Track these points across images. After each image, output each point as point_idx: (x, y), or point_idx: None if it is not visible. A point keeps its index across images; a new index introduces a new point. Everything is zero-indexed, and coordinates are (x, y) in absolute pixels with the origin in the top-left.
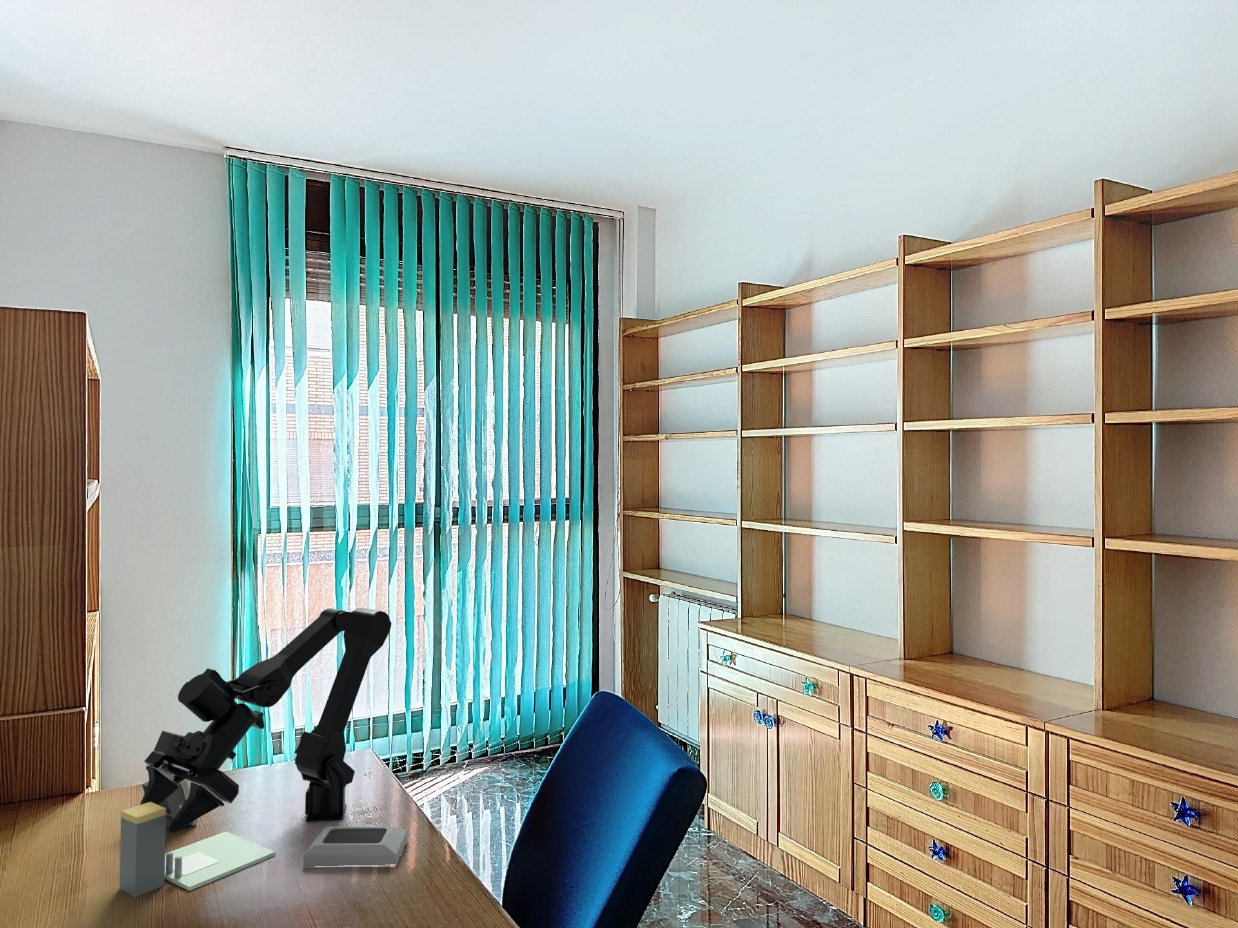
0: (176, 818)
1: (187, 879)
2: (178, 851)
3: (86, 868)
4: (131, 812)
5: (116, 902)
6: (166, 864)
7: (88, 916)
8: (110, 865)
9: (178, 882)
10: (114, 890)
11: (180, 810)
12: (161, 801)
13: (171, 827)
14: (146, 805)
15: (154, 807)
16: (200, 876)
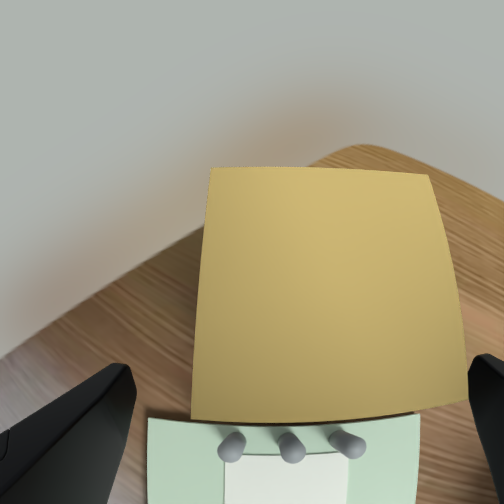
0: (69, 398)
1: (195, 445)
2: None
3: (489, 314)
4: (348, 193)
5: None
6: (289, 436)
7: None
8: (472, 359)
9: (206, 424)
10: None
11: (47, 435)
12: (500, 499)
13: (103, 373)
14: (414, 340)
15: (310, 366)
16: (182, 474)
